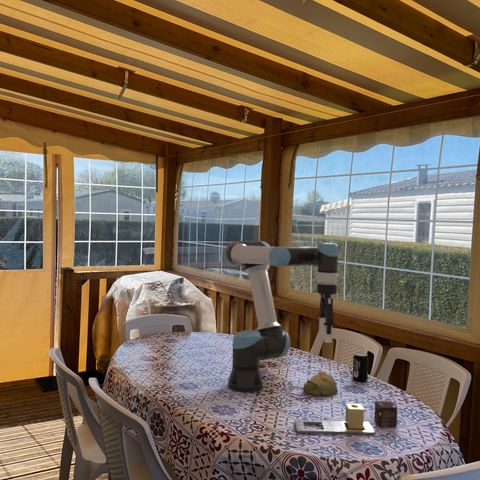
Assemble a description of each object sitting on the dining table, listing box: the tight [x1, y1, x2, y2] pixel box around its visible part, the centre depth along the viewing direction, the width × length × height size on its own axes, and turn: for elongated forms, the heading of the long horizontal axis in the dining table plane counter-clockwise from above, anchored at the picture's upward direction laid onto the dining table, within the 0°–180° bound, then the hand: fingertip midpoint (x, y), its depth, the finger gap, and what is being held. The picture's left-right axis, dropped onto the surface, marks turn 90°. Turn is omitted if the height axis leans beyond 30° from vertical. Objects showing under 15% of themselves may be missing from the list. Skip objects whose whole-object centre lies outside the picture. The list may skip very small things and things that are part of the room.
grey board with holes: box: [294, 419, 376, 436], centre depth 171 cm, size 26×9×1 cm, turn 90°
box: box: [373, 400, 398, 429], centre depth 176 cm, size 6×6×7 cm
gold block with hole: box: [345, 403, 365, 430], centre depth 171 cm, size 5×5×8 cm
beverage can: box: [352, 351, 369, 383], centre depth 227 cm, size 7×7×12 cm
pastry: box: [302, 371, 339, 397], centre depth 210 cm, size 14×12×8 cm
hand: (325, 338), depth 193 cm, fingers open, 13 cm apart
